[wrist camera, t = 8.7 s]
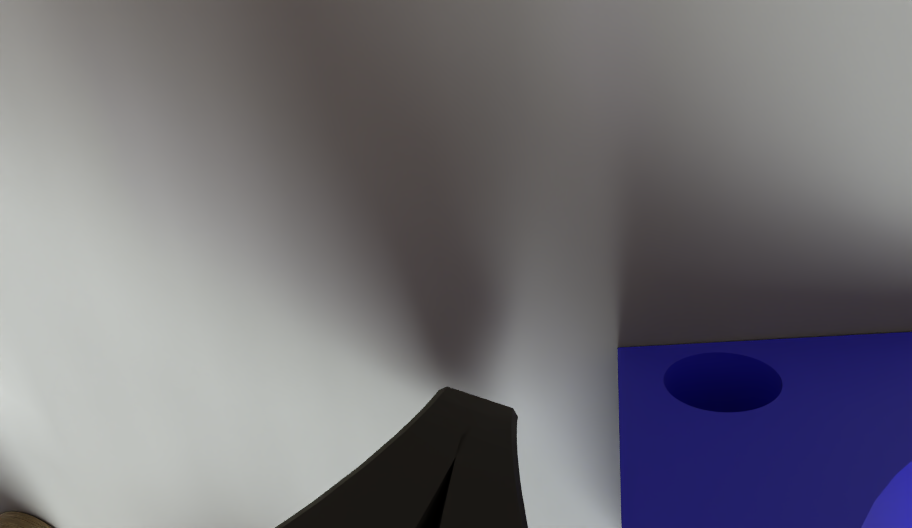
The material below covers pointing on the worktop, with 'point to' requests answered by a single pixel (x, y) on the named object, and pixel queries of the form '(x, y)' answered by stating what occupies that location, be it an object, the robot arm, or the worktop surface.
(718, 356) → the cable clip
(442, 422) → the robot arm
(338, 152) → the worktop surface
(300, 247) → the worktop surface
